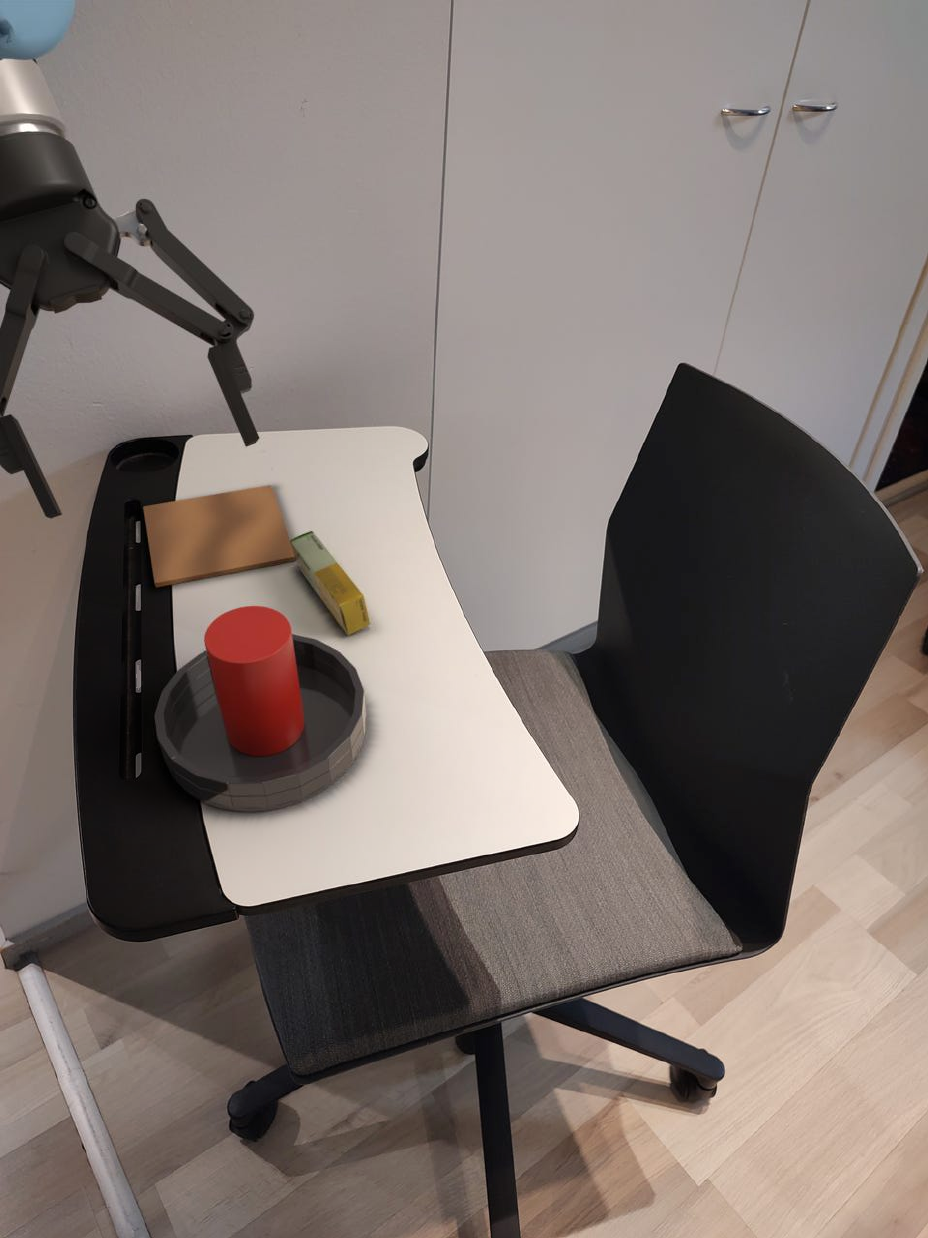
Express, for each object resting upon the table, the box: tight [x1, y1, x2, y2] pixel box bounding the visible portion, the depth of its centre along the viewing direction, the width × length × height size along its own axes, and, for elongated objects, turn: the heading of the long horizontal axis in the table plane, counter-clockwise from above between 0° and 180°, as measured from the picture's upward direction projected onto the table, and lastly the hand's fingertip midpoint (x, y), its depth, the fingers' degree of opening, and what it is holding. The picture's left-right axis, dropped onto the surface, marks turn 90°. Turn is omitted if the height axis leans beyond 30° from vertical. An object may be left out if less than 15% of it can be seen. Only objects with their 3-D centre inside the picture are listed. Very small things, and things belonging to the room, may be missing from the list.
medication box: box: [290, 530, 371, 636], centre depth 85 cm, size 12×3×4 cm, turn 31°
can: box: [203, 605, 305, 756], centre depth 70 cm, size 6×6×10 cm
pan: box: [154, 633, 367, 813], centre depth 72 cm, size 16×16×4 cm
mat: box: [142, 484, 297, 588], centre depth 94 cm, size 14×14×1 cm
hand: (156, 478), depth 59 cm, fingers open, 13 cm apart
